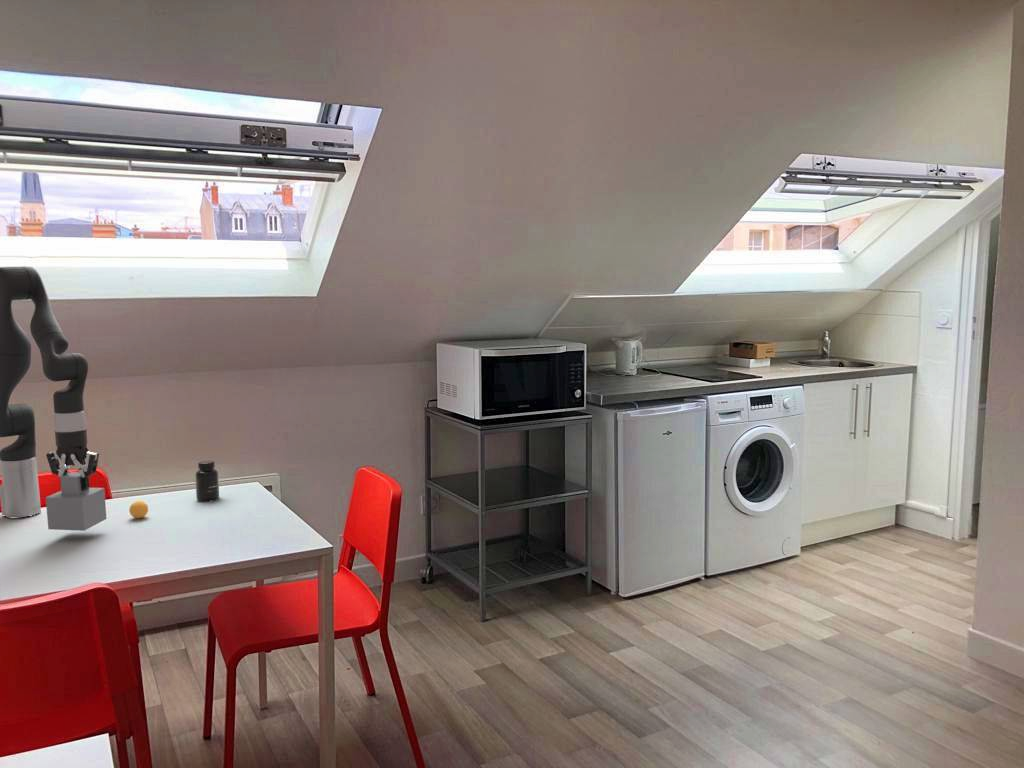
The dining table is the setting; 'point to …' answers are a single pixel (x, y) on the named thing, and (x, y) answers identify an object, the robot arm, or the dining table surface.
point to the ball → (138, 509)
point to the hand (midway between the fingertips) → (75, 489)
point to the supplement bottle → (207, 481)
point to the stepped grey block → (75, 505)
